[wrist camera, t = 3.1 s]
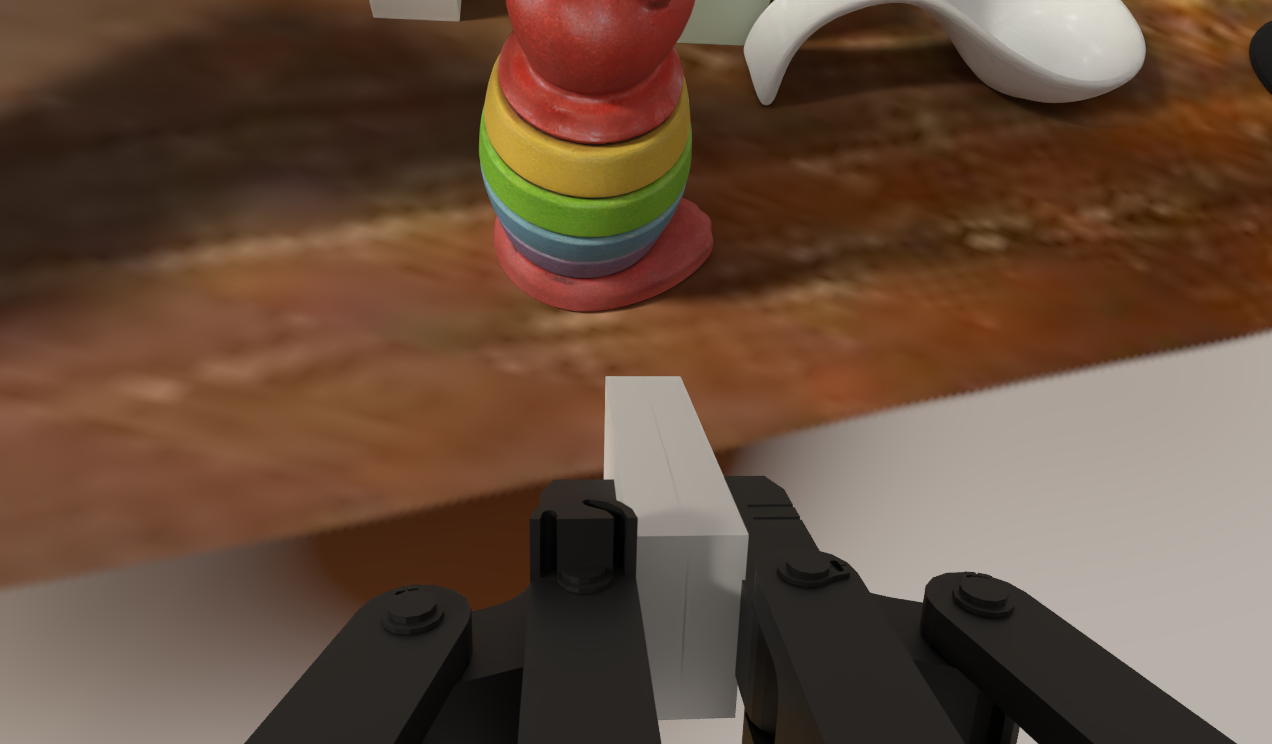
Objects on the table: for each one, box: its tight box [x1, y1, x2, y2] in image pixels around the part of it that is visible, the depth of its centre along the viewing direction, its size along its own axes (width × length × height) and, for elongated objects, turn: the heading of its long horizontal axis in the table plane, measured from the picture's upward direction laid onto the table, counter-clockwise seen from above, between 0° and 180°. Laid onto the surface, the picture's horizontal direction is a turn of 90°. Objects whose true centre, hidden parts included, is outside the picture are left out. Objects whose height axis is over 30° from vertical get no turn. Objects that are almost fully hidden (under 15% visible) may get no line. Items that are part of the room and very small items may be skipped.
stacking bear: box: [479, 0, 714, 311], centre depth 35 cm, size 11×10×18 cm
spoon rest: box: [744, 0, 1146, 105], centre depth 48 cm, size 24×12×7 cm, turn 101°
